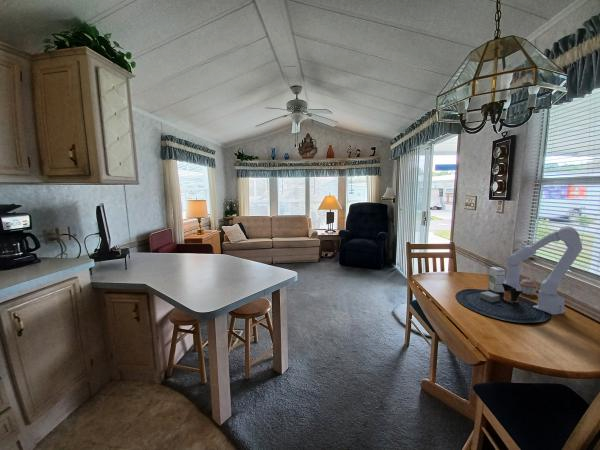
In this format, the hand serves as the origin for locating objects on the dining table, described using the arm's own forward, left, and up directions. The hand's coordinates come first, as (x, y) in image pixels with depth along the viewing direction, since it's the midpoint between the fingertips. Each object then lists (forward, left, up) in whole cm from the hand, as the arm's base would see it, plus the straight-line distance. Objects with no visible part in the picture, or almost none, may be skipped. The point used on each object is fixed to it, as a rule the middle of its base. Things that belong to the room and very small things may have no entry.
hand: (510, 298), depth 145 cm
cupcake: (+5, -20, -2) cm, 21 cm away
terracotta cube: (0, 0, -1) cm, 1 cm away
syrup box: (+14, -7, -2) cm, 16 cm away
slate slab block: (+5, +9, -2) cm, 10 cm away
